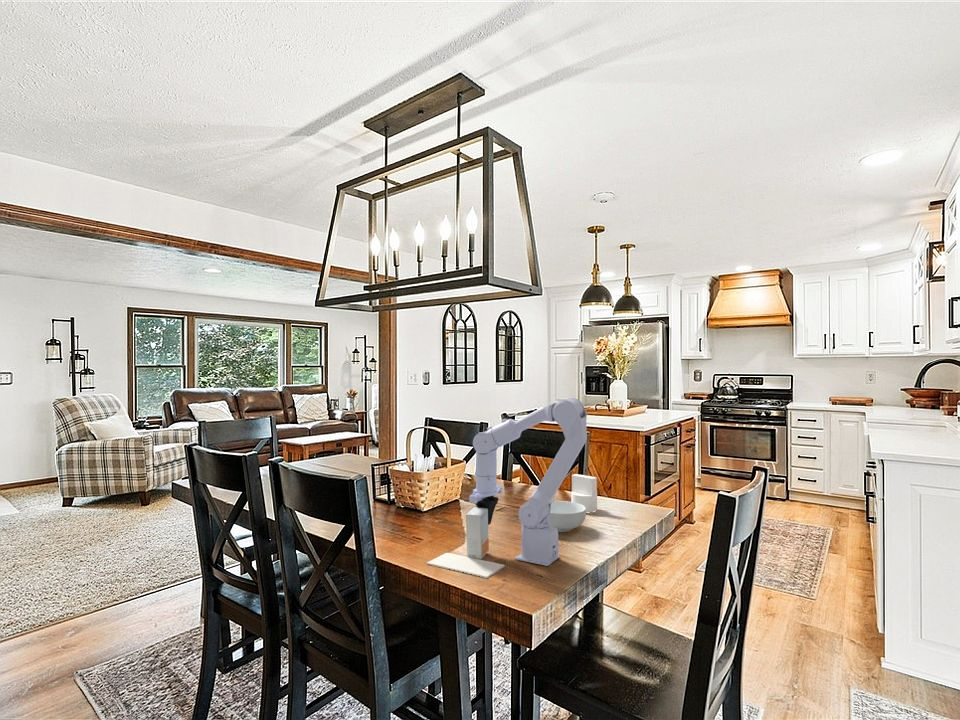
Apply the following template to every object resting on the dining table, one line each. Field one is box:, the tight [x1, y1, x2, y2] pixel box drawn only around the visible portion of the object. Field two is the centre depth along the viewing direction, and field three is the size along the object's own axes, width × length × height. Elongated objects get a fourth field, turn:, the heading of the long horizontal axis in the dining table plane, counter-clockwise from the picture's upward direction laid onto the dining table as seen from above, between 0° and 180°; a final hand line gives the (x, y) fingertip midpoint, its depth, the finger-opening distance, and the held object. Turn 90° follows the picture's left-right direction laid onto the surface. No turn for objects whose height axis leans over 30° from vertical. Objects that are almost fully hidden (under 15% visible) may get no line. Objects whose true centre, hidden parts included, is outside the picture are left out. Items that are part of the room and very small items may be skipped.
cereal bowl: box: [547, 500, 587, 533], centre depth 172 cm, size 17×17×7 cm
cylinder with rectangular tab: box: [570, 473, 598, 512], centre depth 193 cm, size 9×9×12 cm
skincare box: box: [465, 506, 490, 560], centre depth 147 cm, size 6×4×12 cm
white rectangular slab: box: [426, 552, 506, 579], centre depth 140 cm, size 18×9×1 cm, turn 59°
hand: (486, 524), depth 151 cm, fingers closed
